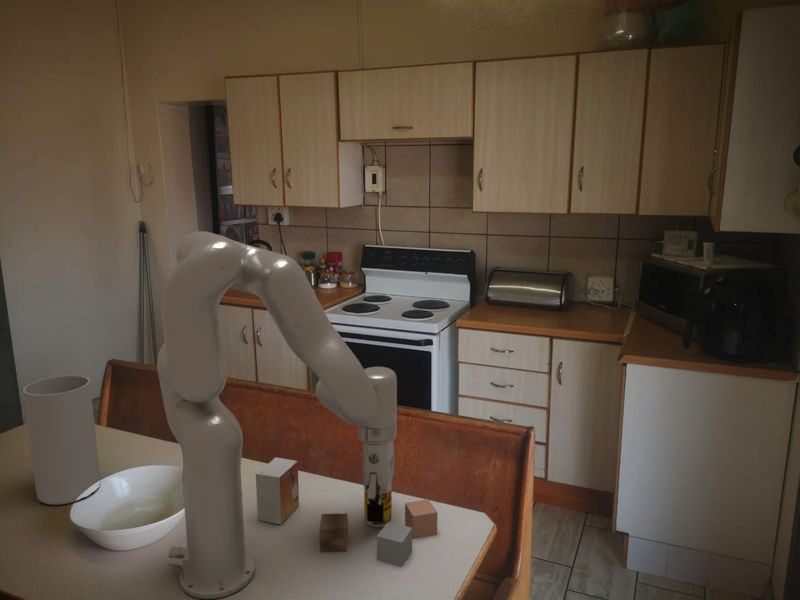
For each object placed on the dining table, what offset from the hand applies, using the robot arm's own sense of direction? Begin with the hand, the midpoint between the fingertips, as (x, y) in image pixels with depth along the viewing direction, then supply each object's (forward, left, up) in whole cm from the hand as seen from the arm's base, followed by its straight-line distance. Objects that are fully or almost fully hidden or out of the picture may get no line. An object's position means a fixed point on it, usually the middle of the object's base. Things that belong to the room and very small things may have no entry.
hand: (378, 511), depth 124 cm
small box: (-21, 0, -2) cm, 21 cm away
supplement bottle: (0, 0, -2) cm, 2 cm away
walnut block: (-7, -9, -2) cm, 12 cm away
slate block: (+5, -11, -2) cm, 12 cm away
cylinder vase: (-70, +2, -2) cm, 70 cm away
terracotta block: (+9, -2, -2) cm, 9 cm away
